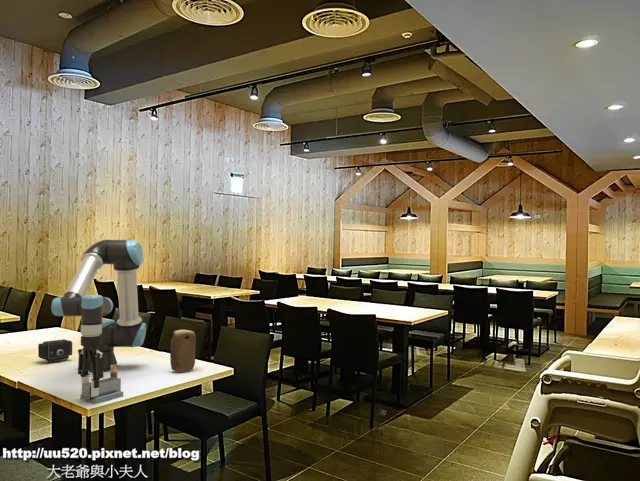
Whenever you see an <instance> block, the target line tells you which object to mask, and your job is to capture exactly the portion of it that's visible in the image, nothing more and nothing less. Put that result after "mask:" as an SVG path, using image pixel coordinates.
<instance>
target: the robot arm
mask: <svg viewBox="0 0 640 481" xmlns="http://www.w3.org/2000/svg"><path fill="white" fill-rule="evenodd" d="M143 262H144V251H143V246H142V244H141V243H140V241H138V240H131V239H102V240H100V241H97V242H95V243H93V244H92V245H91V246H89V247H88V248H87V249H86V250H85V251H84V253H83V254H82V256H81V257H80V264H79V266H78V268H77V270H76V272H75V274H74V275H73V278H72V279H71V281H70V283H69V285H68V286H67V289H66V290H65V292H64V293H63V296H60V297H55V298H53V300H52V302H51V306H50V308H51V313H52V314H53V316H56V317H65V318H66V317H80V318H81V319H80V320H81V322H80V335H81V337H80V346H82V348H79V349H78V350H77V353H78V364H77V375H80V377H81V385H82V384H86V383H90V381H91V397H95V396H99V380H101V379H103V378H104V372H109V371H111V365H116V364H117V365H118V361H117V358H116V355H115V352H114V348H138V347H141V346H142V345H143V344H144V341H145V338H146V332H147V323H145V322H143V318H142V317H141V316H139V302H138V301H139V298H138V296H139V295H138V281H137V280H138V279H137V271H138V270H139V268H140V266H141V265H142V264H143ZM103 265H112V266H113V270H114V271H116V272H117V273H116V274H117V275H116V276H117V277H116V278H117V290H118V307H119V318H118V319H117V321H116V322H115V320H114V319H103V317H105V316H107V315H109V314H110V313H111V312H112V311H113V309H114V303H113V301H112V300H111V298H109V297H105V296H102V295H100V294H87V292H88V290H89V289H90V286H91V284H92V282H93V280H94V277H96V274H97V272H98V270H100V269H101V268H102V267H103ZM86 294H87V295H86ZM89 372H91V374H92V378H91V379H90V373H89ZM80 392H81V394H82V391H80Z"/></svg>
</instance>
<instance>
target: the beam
mask: <svg viewBox="0 0 640 481" xmlns="http://www.w3.org/2000/svg"><path fill="white" fill-rule="evenodd" d="M111 377H117V378H118V363H117V364H116V365H111V370H110V377H109V378H111Z"/></svg>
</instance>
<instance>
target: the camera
mask: <svg viewBox="0 0 640 481" xmlns="http://www.w3.org/2000/svg"><path fill="white" fill-rule="evenodd" d="M37 345H38V346H37V347H38V353H37V354H38V356H37V357H38V358H40V359H41V360H45V361H47V363H48V364H53V363H55V362H63V361H64V360H68V359H69V358H70V356H73V341H71V340H69V339H56V340H55V339H54V340H47V341H43V342H41V343H38V344H37Z"/></svg>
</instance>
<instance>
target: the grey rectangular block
mask: <svg viewBox="0 0 640 481" xmlns="http://www.w3.org/2000/svg"><path fill="white" fill-rule="evenodd" d="M121 382H122V379H121V377H118V376H117V377H111V378H110V377H107V378H104V379H103V378H102V379H99V396H95V397H91V382H90V381H89V383H86V384H82V383H81V392H82V399H85V400H93V399H94V398H97V397H101V396H104V395H108V394H112V393H116V392H120V391H121V390H122V383H121ZM82 399H81V400H82ZM85 400H84V401H85Z"/></svg>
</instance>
